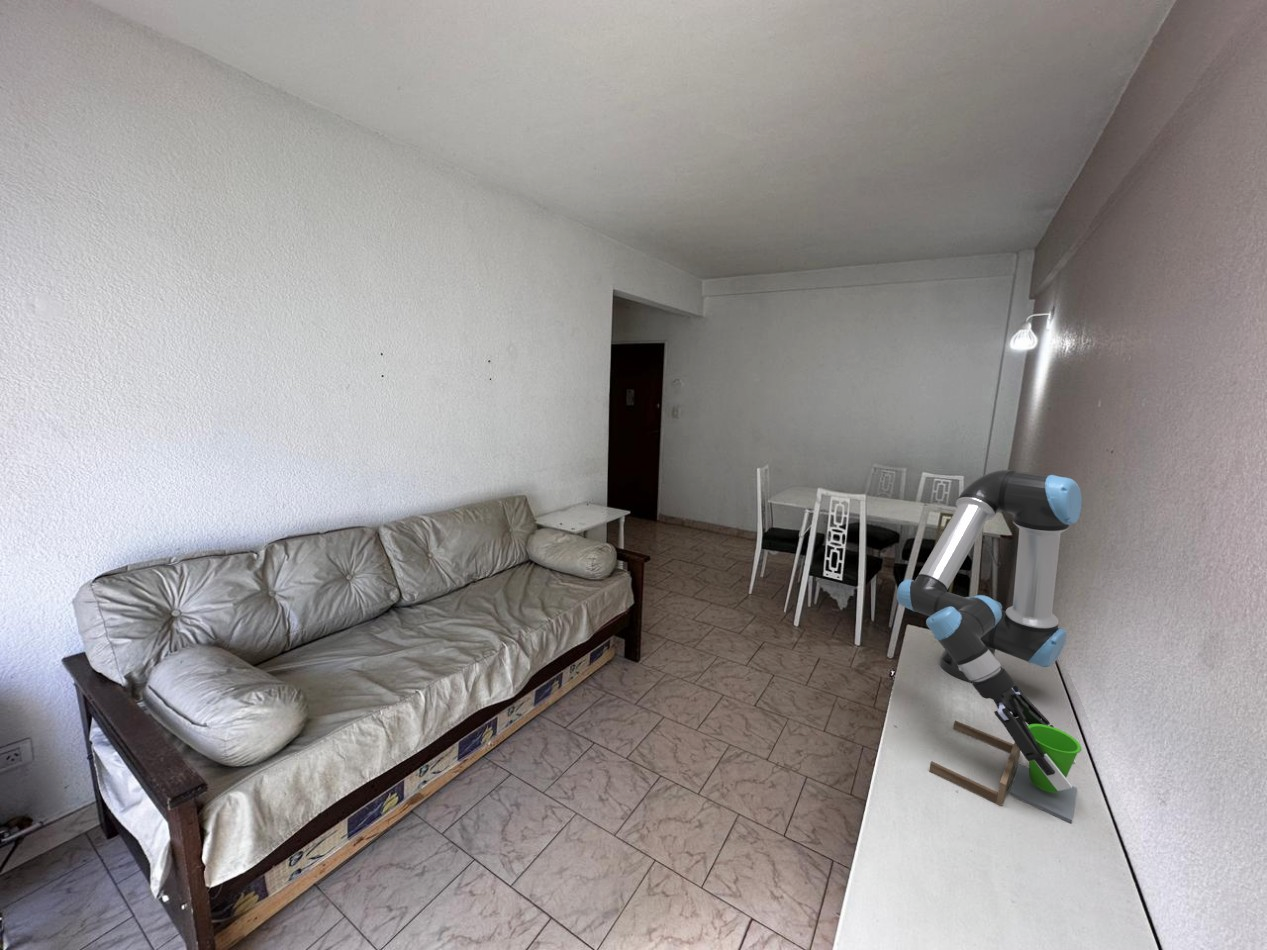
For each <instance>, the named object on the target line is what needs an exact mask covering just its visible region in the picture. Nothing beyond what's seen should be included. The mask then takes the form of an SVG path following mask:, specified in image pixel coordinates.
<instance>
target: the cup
mask: <svg viewBox="0 0 1267 950" xmlns="http://www.w3.org/2000/svg"><path fill="white" fill-rule="evenodd" d="M1027 726H1028V728H1029V729H1030V731H1031V733H1032V735H1033V736H1034V738H1035V740H1036V741H1037V743H1038V745H1039V747H1040V748H1041V750H1042V752H1043V753H1044V754H1047V755H1048V756H1049V757H1050V759H1051V760H1052V761H1053V763H1054V764H1055V765H1056V766H1057V768H1058V769H1059V770H1060V771H1061V773H1062V774H1063V775H1064V776H1065V778H1066V779H1067V777H1068V774H1069V773H1070V770H1071V769H1072V766H1073V765H1074V764H1073V762H1074V760H1075V761H1076V757H1077V755H1078V754H1079V753H1080V752H1081V751H1082V746H1081V744H1080V742H1079V741H1078V740H1077V739H1076V738H1075V737H1073V736H1072V735H1071V734H1069V733H1067V732H1066V731H1063V730H1061V729H1059V728H1056V727H1054V726H1053V727H1051V726H1049V725H1048V726H1047V725H1043V724H1030V725H1028V724H1027ZM1072 764H1073V765H1072ZM1028 767H1029V777H1030V779H1031V781H1032V783H1033V784H1034V785H1036V786H1037V787H1039V788H1040V789H1042V790H1045V791H1047V792H1052V793H1057V792H1059V791H1057V789H1056V788H1055V787H1054V785H1053V784H1052V783H1051V782H1050V780H1049V779H1048V778H1047V777H1046V775H1045V774H1044V773H1043V771H1042V770H1041V769H1040V768H1039V766H1038V765H1037V764H1036V762H1035V761H1034V760H1031V761H1028Z"/></svg>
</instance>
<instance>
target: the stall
mask: <svg viewBox="0 0 1267 950" xmlns="http://www.w3.org/2000/svg"><path fill="white" fill-rule="evenodd" d="M952 728H953V730H954V731H956V732H959V733H961V734H963V735H966V736H968V737H970V736H971V738H973V739H976V740H978V741H980V742H983V743H985V744H987V745H990V746H992V747H994V748H996V749H999V750H1002V751H1004V752H1006V753H1009V756H1008V759H1007V761H1006V765H1005V767H1004V770H1003V773H1002V776H1001V778H1000V781H999V784H998V785H999V786H998V790H997V791H996V790H994V789H992V788H990V787H987V786H986V785H984V784H981V783H979V782H977V781H974V780H973V779H972V778H969V777H966V776H964V775H962V774H960V773H957V772H956V771H954V770H951V769H949V768H947V767H945V766H943V765H941V764H938V763H936V762H934V761H932V760H931V761H930V763H929V772H930V773H932V774H934V775H936V776H939V777H941V778H943V779H945V780H947V781H948V782H951V783H953V784H955V785H956V786H959V787H961V788H963V789H964V790H966V791H967V790H968V791H969V792H971V793H973V794H976V795H977V796H979V797H982V798H983V799H986V800H988V801H989V802H992V803H994V804H995V805H996V804H997V805H998V806H999V807H1000V806H1001V807H1003V806H1004V803H1005V799H1006V796H1007V794H1008V791H1009V788H1010V786H1011V782H1012V779H1013V776H1014V773H1015V770H1016V767H1017V766H1018V762H1019V759H1020V755H1021V750H1020V749H1019V747H1018V746H1017V744H1016V743H1015V741H1014V743H1012V742H1009V741H1006V740H1004V739H1002V738H999V737H997V736H995V735H992V734H990V733H987V732H986V731H982V730H980V729H977V728H975V727H972V726H970V725H967V724H965V723H962V722H960V721H957V720H954V722H953V727H952Z"/></svg>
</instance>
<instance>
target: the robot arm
mask: <svg viewBox="0 0 1267 950" xmlns="http://www.w3.org/2000/svg"><path fill="white" fill-rule="evenodd" d="M1082 501H1083V498H1082V492H1081V489H1080V486H1079V485H1078V483H1077V482H1076V481H1075V480H1074V479H1072V478H1069V477H1064V476H1058V475H1055V474H1045V473H1044V474H1043V473H1035V472H1027V471H1018V470H1017V471H1015V470H1010V469H1001V470H1000V469H999V470H995V471H991V472H988V473H987V474H984V475H982V476H980V477H978V478H977V479H976V480H973V482H971V483H970V484H968V486H966V488H965V489H963V491H962V492H961V493H960V495H959V496H958V498H957V499H956V501H955V506H956V509H955V511H954V512H953V515H952V516H951V518H950V519H949V522H948V523H947V524H946V527H945V528H944V530H943V531H942V534H941V535H940V537H939V539H938V540H937V542H936V544H935V546H934V547H933V549H932V550H931V553H930V554H929V556H928V557H927V560H926V561H925V563H924V565H923V567H922V568H921V570H920V572H919V573H918V575H916V576H917V577H916V578H915V580H914V579H903V581H902V582H901V583H899V585H898V587H897V591H896V600H897V602H898V604H899V605H901V606H902V607H904V608H905V609H908V610H911V611H912V612H914V613H919V614H921V615H924V616H928V618H927V619H925V620H926V621H925V622H926V623H925V624H926V626H927V628H928V629H929V630H930V633H932V635H933V637H934V639H935V640H937V641H938V642H939V643H940V645H941V646H942V648H943V649H944V651H943V652H942V654H941V656H940V660H939V662H940V663H939V665H940V667H941V668H942V669H943V670H944V671H945V672H946V673H948V674H950V675H952V676H953V677H955V678H957V679H960V680H961V681H965V682H970V683H972V686H973V688H975V690H976V691H977V693H978V694H979V695H980V696H981V698H983V699H987V700H988V699H990V700H992V701H993V703H995V706H996V707H997V708H996V709H997V710H996V711H995V710H994V715H995V717H996V718H997V719H998V720H999V721H1000V723H1002V725H1003V726H1004V728H1005V729H1006V731H1007V732H1008V734H1009V735H1010V737H1011V738H1012V740H1013V741H1014V742H1015V743H1016V744H1017V746H1018V747H1019V749H1020V750H1021V751H1020V753H1021V754H1022V755H1023V756H1024V758H1025V759H1026V761H1028V762H1029V761H1031V760H1034V761H1035V762H1036V764H1037V765H1038V766H1039V768H1040V769H1041V770H1042V771H1043V773H1044V774H1045V775H1046V777H1047V778H1048V779H1049V780H1050V782H1051V783H1052V784H1053V785H1054V787H1055V788H1056V789H1057V791H1061V790H1065V789H1070V788H1072V786H1073V785H1072V784H1071V783H1070V781H1069V780H1068V779H1067V777H1066V778H1065V776H1064V775H1063V774H1062V773H1061V771H1060V770H1059V769H1058V768H1057V766H1056V765H1055V764H1054V763H1053V761H1052V760H1051V759H1050V757H1049V756H1048V755H1047V754H1044V753H1043V752H1042V750H1041V748H1040V747H1039V745H1038V743H1037V741H1036V740H1035V738H1034V736H1033V735H1032V733H1031V731H1030V729H1029V728H1028V725H1030V724H1043V725H1047V726H1051V727H1054V725H1053V724H1051V722H1050V720H1048V718H1046V716H1044V714H1043V713H1042V712H1041V711H1040V710H1039V709H1038V708H1037V707H1036V706H1035V705H1034V703H1032V702H1031V701H1030V699H1029V698H1028V697H1026V695H1025V694H1024V693H1023V692H1022V690H1021V689H1020V688H1019V686H1018V685H1017V684H1016V683H1015V680H1014V679H1013V678H1012V676H1011V675H1010V674H1009V672H1008V671H1007V670H1006V669H1005V668H1004V667H1002V666H1001V662H1000V661H999V660H998V659H997V657H996V650H997V651H999V652H1001V653H1003V654H1006V655H1009V656H1012V657H1015V658H1017V659H1020V660H1022V661H1025V662H1027V663H1028V664H1034V665H1035V666H1039V667H1042V668H1049V667H1051V666H1053V664H1054V663H1055V662H1056V661H1057V660H1058V658H1059V656H1060V655H1061V653H1062V651H1063V648H1064V646H1065V643H1066V642H1067V641H1066V640H1067V635H1068V634H1067V631H1066V630H1065V629H1063V628H1059V623H1060V622H1059V618H1058V616H1056V615H1055V614H1054V613H1053V609H1054V597H1055V590H1056V579H1057V571H1058V570H1057V568H1058V562H1059V561H1058V560H1059V553H1060V552H1059V551H1060V542H1061V534H1062V533H1064V532H1065V531H1067V530H1069V528H1070V525H1074V524H1075V523H1077V522H1078V520H1079V518H1080V515H1081V511H1082V507H1083V506H1082V505H1083V504H1082ZM999 512H1002V513H1007V514H1011V515H1013V518H1012V519H1013V520H1012V523H1013V524H1014V525H1015V526H1016V527H1017V528H1018V529H1019V532H1018V542H1017V543H1018V544H1017V553H1016V554H1017V555H1016V567H1015V575H1014V578H1015V579H1014V588H1013V599H1012V605H1011V606H1009V607H1007V609H1006V610H1004V609H1003V605H1002V604H1001V602H999V601H998V600H994V599H992V598H991V597H990V596H986V595H983V594H982V595H981V594H978V595H974V596H966V597H965V596H961V595H958V594H955V593H952V592H949V590H948V589H949V587H950V586H951V584H952V582H953V581H954V579H955V578H956V575H957V574H958V572H959V571H960V568H961V567H962V565H963V563H964V561H965V560H966V558H967V556H968V554H969V552H970V551H971V549H972V548H973V546H974V544H975V542H976V540H977V539H978V537H979V535H980V534H981V531H982V529H983V528H984V527H985V524H986V523H987V521H990V520H992V519H994V518H995V516H996V514H997V513H999ZM1073 765H1077V761H1076V759H1075V760H1074V762H1073V764H1072V766H1073Z"/></svg>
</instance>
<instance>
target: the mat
mask: <svg viewBox="0 0 1267 950" xmlns="http://www.w3.org/2000/svg"><path fill="white" fill-rule="evenodd" d="M1017 766H1018V767H1017V769H1016V771H1015V776H1014V779H1013V782H1012V785H1011V788H1010V789H1009V795H1010V796H1011V797H1013V798H1016V799H1018V800H1020V801H1022V802H1024V803H1026V804H1029V805H1030V806H1032V807H1035V808H1037V809H1039V810H1040V811H1043V812H1046V813H1048V814H1050V815H1052V816H1054V817H1057V818H1058V819H1061V821H1062V820H1063V821H1064V822H1066V823H1069V824H1072V823H1073V817H1074V815H1073V814H1074V812H1075V811H1074V810H1075V804H1076V798H1077V797H1076V796H1077V793H1078V792H1077V791H1078V787H1076V786H1074V785H1072V788H1070V789H1065V790H1061V791H1059V792H1057V793H1052V792H1047V791H1045V790H1042V789H1040V788H1039V787H1037V786H1036V785H1034V784H1033V783H1032V781H1031V779H1030V777H1029V766H1026V765H1024V764H1022V763H1019V764H1018V765H1017Z"/></svg>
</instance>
